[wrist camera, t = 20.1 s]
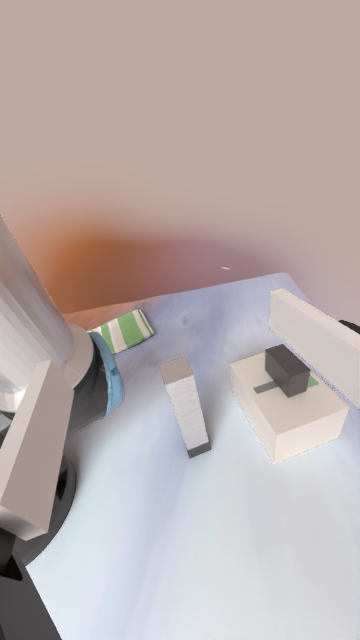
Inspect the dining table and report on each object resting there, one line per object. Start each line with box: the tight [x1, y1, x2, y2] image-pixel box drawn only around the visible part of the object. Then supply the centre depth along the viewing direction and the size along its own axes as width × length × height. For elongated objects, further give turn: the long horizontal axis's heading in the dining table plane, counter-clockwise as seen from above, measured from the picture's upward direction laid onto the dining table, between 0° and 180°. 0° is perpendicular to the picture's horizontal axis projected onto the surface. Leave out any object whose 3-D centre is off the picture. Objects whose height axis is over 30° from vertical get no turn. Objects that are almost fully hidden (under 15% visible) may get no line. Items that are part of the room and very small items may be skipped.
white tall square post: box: [159, 356, 211, 458], centre depth 33 cm, size 4×4×18 cm
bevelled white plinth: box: [230, 352, 350, 464], centre depth 37 cm, size 11×14×8 cm
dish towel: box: [86, 309, 154, 355], centre depth 69 cm, size 18×23×3 cm
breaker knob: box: [265, 344, 311, 398], centre depth 34 cm, size 3×6×4 cm, turn 15°
